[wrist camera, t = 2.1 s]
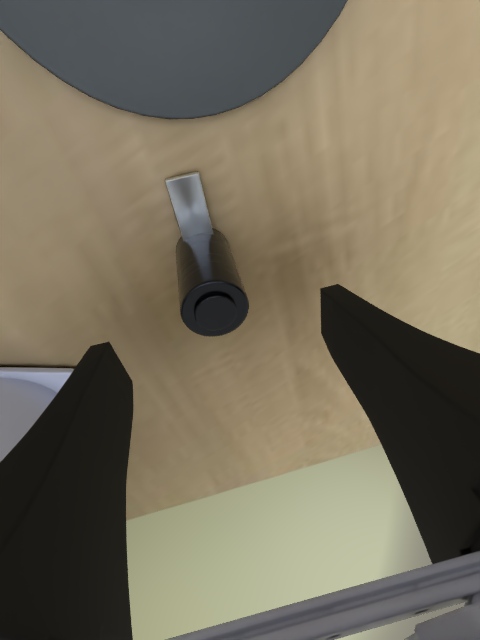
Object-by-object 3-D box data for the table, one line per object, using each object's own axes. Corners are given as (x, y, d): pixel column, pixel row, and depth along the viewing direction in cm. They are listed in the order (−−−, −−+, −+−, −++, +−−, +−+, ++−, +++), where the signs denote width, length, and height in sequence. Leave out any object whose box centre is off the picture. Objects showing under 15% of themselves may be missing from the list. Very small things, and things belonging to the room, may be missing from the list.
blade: (241, 305, 19) (262, 372, 15) (196, 316, 19) (205, 387, 15) (211, 164, 14) (231, 207, 10) (150, 178, 14) (146, 227, 10)
